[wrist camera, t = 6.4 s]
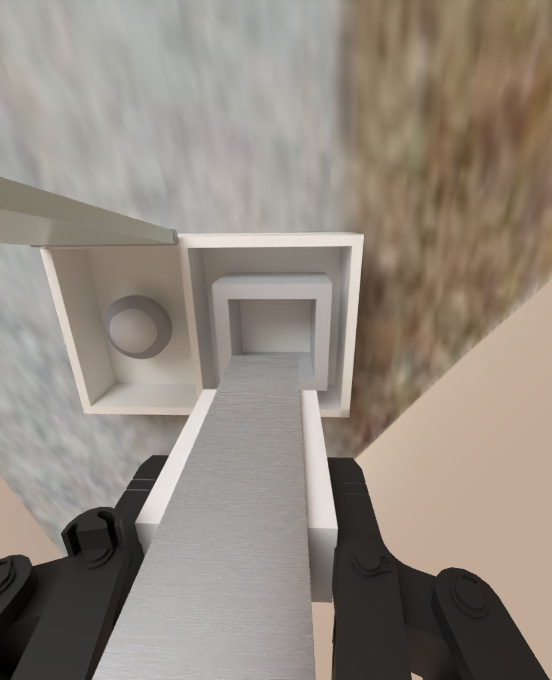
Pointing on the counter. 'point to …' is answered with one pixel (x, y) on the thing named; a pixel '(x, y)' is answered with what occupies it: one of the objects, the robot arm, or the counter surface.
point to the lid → (69, 222)
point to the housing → (206, 315)
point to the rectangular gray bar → (228, 547)
